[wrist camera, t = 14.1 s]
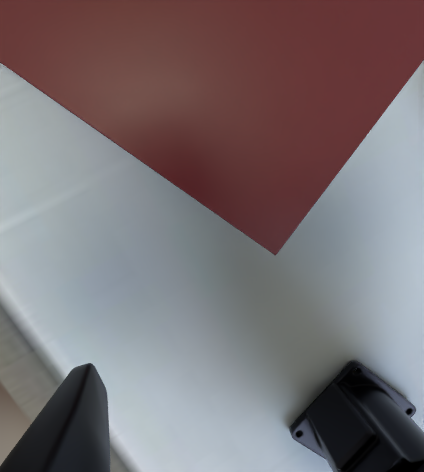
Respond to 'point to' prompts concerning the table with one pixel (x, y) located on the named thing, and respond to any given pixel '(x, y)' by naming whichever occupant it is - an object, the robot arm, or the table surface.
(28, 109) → the table surface
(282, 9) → the book
